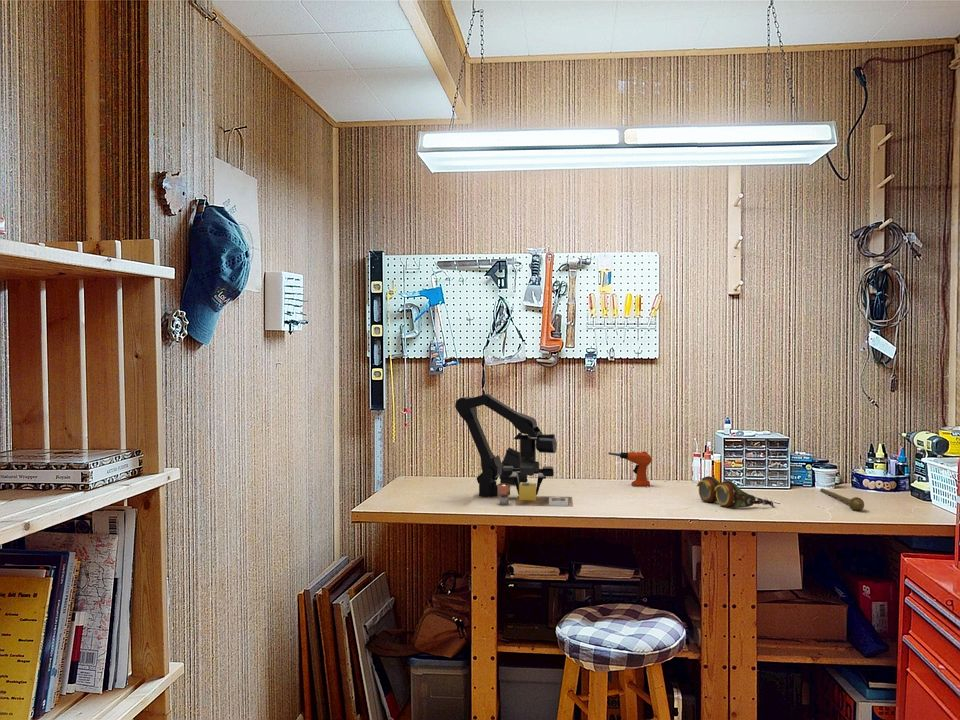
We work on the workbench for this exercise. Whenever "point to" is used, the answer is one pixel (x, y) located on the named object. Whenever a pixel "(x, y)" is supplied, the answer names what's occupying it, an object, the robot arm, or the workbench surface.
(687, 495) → the workbench surface
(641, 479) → the toy drill
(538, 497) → the plywood board
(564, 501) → the frame
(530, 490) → the block
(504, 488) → the copper and grey cylinder
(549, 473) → the robot arm
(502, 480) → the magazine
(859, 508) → the ball headed mace
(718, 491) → the goggles
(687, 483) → the workbench surface
